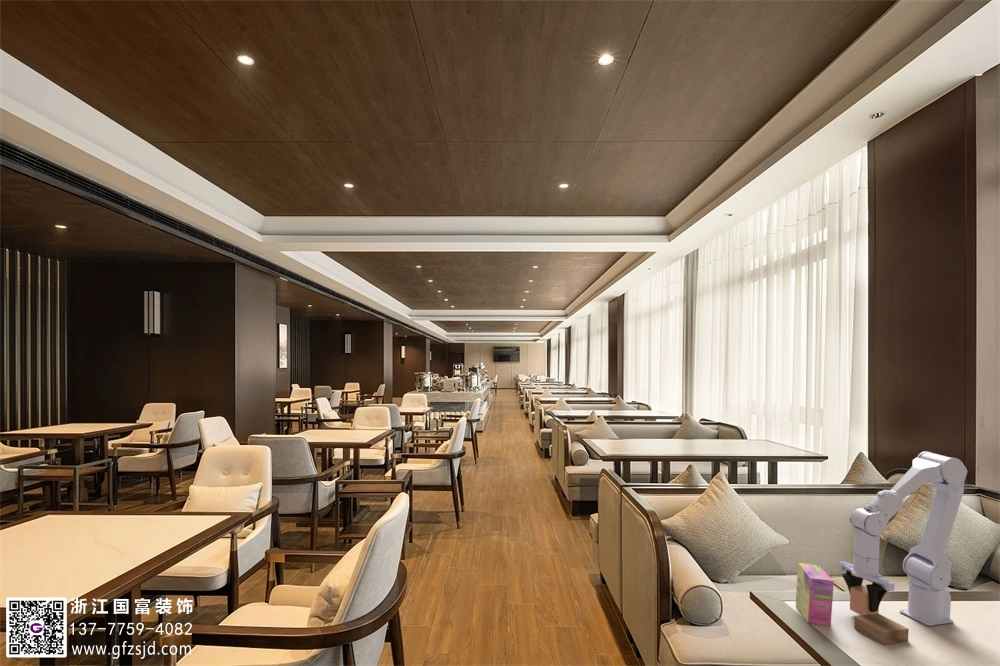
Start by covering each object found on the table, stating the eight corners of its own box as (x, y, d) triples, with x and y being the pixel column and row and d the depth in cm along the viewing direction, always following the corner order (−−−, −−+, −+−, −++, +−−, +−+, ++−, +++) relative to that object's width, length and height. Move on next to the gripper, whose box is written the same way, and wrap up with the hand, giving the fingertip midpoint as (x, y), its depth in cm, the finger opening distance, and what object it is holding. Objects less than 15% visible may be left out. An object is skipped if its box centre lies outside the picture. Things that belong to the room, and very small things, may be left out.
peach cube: (862, 607, 155) (863, 585, 155) (878, 615, 150) (879, 592, 150) (849, 609, 153) (850, 587, 153) (865, 617, 149) (866, 594, 149)
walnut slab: (877, 624, 148) (878, 613, 148) (908, 640, 140) (908, 628, 140) (854, 628, 145) (854, 616, 145) (884, 644, 138) (884, 632, 138)
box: (831, 626, 146) (834, 580, 146) (807, 623, 147) (809, 577, 147) (817, 608, 156) (819, 565, 156) (795, 605, 157) (797, 562, 157)
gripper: (831, 546, 158) (829, 595, 157) (880, 567, 144) (878, 621, 144) (850, 544, 160) (848, 593, 160) (901, 565, 146) (899, 618, 146)
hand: (864, 606), depth 152 cm, fingers closed on peach cube, 5 cm apart
